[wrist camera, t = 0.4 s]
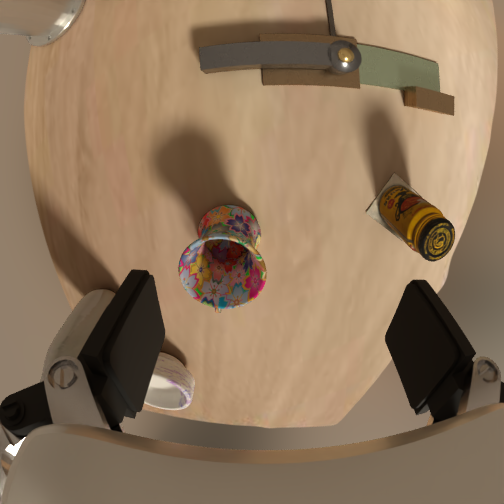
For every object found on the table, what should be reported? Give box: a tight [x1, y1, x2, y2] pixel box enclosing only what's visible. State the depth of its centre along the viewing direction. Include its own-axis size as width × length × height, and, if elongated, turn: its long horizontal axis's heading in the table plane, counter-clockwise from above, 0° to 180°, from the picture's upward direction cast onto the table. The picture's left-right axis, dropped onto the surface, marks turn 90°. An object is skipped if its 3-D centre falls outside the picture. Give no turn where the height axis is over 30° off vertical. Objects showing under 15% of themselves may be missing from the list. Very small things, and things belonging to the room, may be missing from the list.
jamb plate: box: [259, 0, 360, 89], centre depth 22 cm, size 20×12×1 cm, turn 4°
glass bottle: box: [40, 289, 115, 382], centre depth 32 cm, size 10×10×28 cm
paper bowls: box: [144, 352, 195, 410], centre depth 50 cm, size 15×15×8 cm
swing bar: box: [199, 40, 362, 75], centre depth 24 cm, size 18×4×4 cm, turn 94°
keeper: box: [357, 44, 454, 116], centre depth 24 cm, size 8×14×3 cm, turn 94°
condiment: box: [366, 172, 455, 261], centre depth 30 cm, size 7×8×12 cm
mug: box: [179, 205, 266, 313], centre depth 33 cm, size 12×9×11 cm
